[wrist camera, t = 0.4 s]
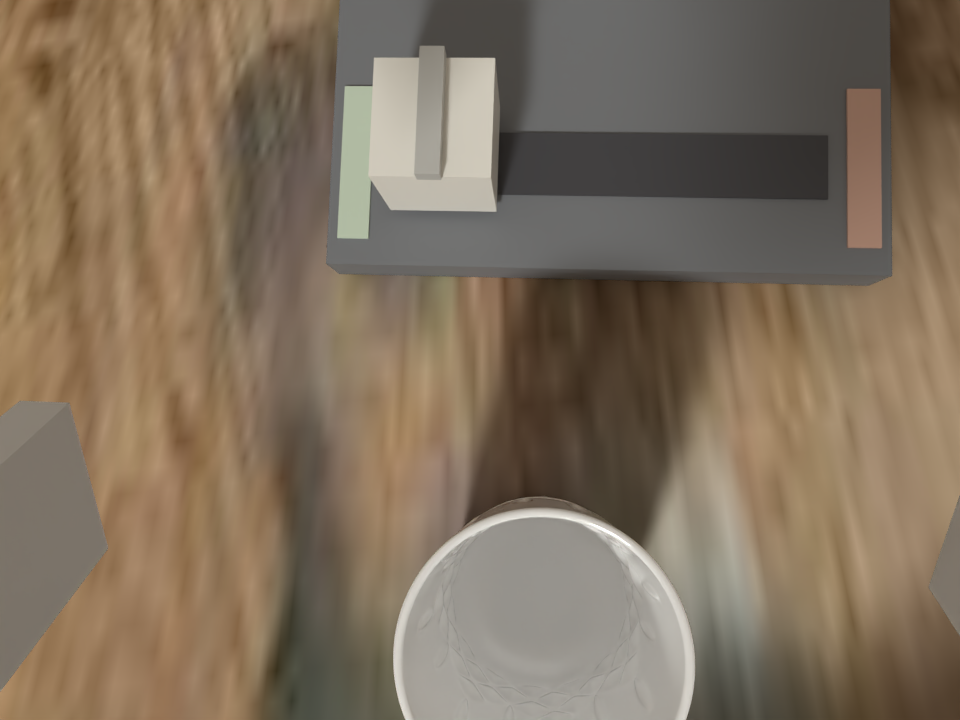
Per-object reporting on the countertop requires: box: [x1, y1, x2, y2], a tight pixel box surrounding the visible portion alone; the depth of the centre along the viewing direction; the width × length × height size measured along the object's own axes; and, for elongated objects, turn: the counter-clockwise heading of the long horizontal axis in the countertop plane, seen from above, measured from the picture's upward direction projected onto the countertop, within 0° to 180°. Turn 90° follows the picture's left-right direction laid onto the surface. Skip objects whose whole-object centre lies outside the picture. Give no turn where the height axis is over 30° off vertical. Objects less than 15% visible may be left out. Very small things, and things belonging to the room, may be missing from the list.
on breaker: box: [368, 46, 500, 212], centre depth 27 cm, size 4×4×5 cm
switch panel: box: [326, 0, 892, 286], centre depth 31 cm, size 18×21×2 cm
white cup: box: [393, 496, 695, 720], centre depth 25 cm, size 8×8×10 cm
